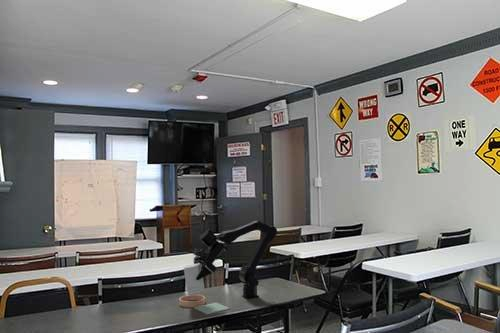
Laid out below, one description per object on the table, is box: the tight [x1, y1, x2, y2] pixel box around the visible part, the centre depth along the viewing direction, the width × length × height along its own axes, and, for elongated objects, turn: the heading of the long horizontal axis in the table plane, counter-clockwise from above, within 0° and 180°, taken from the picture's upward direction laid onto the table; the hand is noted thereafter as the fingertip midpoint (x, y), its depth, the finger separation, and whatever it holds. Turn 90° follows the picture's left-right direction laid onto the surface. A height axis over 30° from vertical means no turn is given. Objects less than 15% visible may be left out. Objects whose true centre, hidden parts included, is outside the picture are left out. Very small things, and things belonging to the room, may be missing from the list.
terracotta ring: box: [178, 294, 206, 308], centre depth 201 cm, size 13×13×2 cm
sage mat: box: [194, 302, 231, 315], centre depth 191 cm, size 12×12×1 cm
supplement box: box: [183, 263, 205, 295], centre depth 198 cm, size 7×7×13 cm
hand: (193, 277), depth 197 cm, fingers closed on supplement box, 9 cm apart
